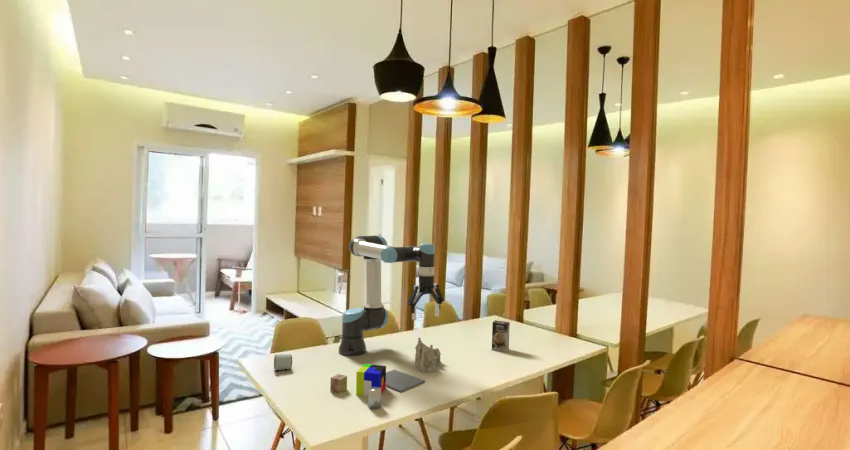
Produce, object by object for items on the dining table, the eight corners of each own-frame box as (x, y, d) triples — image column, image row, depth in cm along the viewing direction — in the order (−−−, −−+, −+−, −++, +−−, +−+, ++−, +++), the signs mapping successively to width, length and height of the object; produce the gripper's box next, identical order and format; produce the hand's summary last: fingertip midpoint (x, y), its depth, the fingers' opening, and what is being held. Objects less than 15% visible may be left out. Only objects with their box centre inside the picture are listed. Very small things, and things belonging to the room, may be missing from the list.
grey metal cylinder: (365, 406, 168) (365, 389, 168) (374, 402, 172) (375, 385, 172) (374, 410, 165) (374, 393, 165) (383, 406, 169) (383, 389, 169)
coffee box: (491, 350, 244) (491, 322, 244) (493, 347, 250) (494, 319, 250) (507, 352, 241) (507, 324, 241) (509, 349, 247) (509, 321, 247)
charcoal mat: (369, 380, 196) (369, 378, 196) (394, 371, 208) (394, 369, 208) (400, 392, 183) (400, 390, 183) (424, 382, 195) (424, 380, 195)
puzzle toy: (378, 397, 177) (379, 374, 177) (356, 395, 179) (356, 371, 179) (385, 388, 187) (386, 365, 187) (364, 386, 189) (364, 363, 189)
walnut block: (330, 391, 183) (330, 377, 183) (337, 387, 187) (337, 373, 187) (339, 393, 180) (340, 379, 180) (346, 389, 185) (347, 376, 185)
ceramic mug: (292, 370, 206) (292, 355, 206) (275, 373, 202) (275, 357, 202) (289, 364, 215) (289, 349, 215) (272, 366, 212) (272, 351, 212)
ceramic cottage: (421, 373, 205) (423, 342, 206) (409, 364, 220) (410, 335, 221) (450, 371, 211) (451, 341, 212) (436, 362, 226) (437, 334, 227)
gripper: (409, 277, 198) (408, 322, 198) (451, 274, 212) (450, 316, 212) (400, 275, 204) (399, 319, 204) (442, 272, 218) (441, 313, 218)
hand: (425, 318), depth 208 cm, fingers open, 13 cm apart
